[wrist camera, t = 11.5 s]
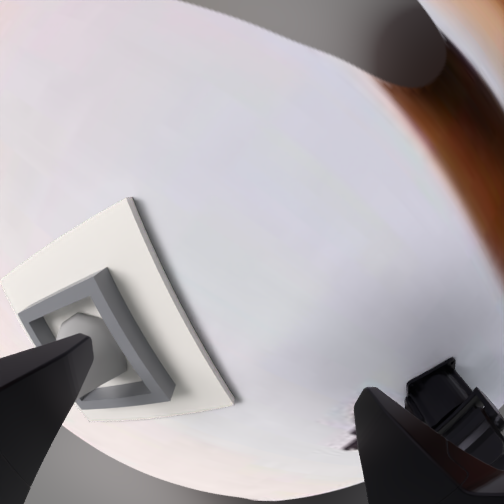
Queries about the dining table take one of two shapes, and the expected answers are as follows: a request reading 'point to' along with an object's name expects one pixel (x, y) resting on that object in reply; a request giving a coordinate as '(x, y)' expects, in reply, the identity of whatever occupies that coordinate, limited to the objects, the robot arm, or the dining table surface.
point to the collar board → (119, 317)
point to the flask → (96, 350)
